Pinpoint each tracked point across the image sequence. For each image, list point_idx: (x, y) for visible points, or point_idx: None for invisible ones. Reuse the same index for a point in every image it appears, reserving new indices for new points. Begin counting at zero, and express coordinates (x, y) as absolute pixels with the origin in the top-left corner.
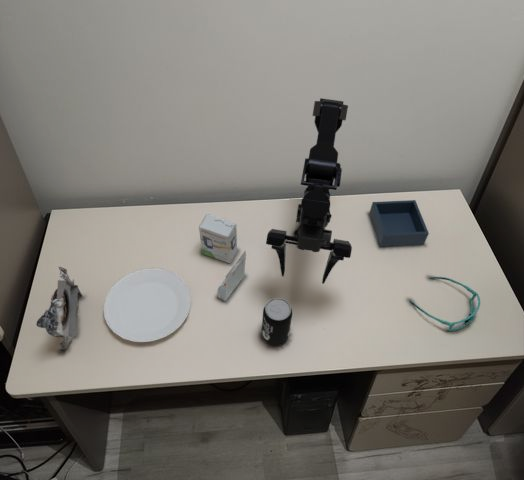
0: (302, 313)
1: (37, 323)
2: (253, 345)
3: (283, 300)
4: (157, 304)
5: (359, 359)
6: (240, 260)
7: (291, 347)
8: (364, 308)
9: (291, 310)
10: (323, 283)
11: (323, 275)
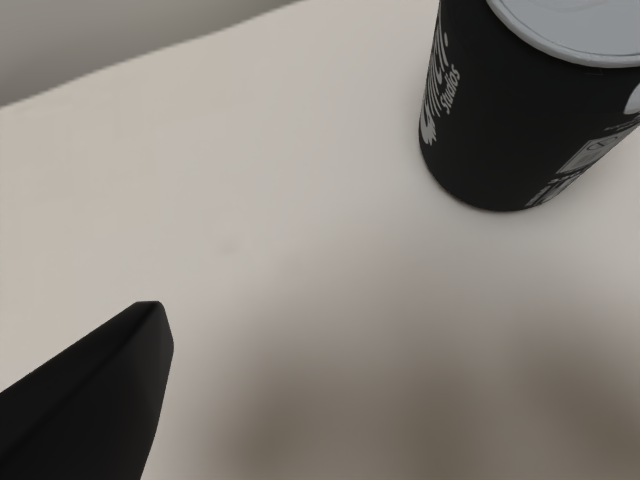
0: (367, 319)
1: None
2: None
3: (580, 61)
4: None
5: (35, 120)
6: None
7: (388, 90)
8: None
9: (463, 10)
10: (144, 302)
11: (137, 408)
